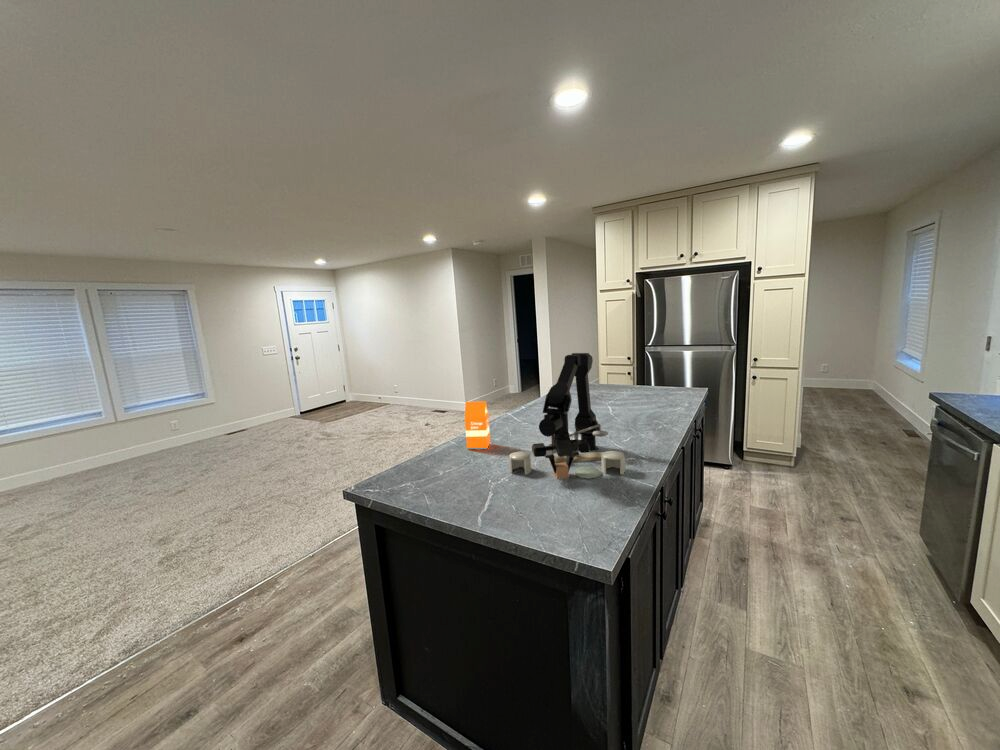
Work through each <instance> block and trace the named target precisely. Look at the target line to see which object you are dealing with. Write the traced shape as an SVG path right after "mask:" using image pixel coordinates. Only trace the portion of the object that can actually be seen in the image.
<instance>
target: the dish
mask: <svg viewBox="0 0 1000 750" xmlns="http://www.w3.org/2000/svg"><path fill="white" fill-rule="evenodd" d="M601 472H602V471H601V470H600V469H599V468H598V467H594V466H581V467H577V468H576V469H575V470H574V475H575V476H576V477H577V476H578V477H577V478H581V479H584V478H586V480H591V478H593V479H597V478H599V477H600V476H601V475H600V474H602V473H601ZM598 476H599V477H598ZM596 477H597V478H596Z"/></svg>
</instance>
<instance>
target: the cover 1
mask: <svg viewBox="0 0 1000 750" xmlns="http://www.w3.org/2000/svg"><path fill="white" fill-rule="evenodd" d="M508 458H509V471H510V474H511V473H512V474H513V469H514V470H515V469H520V468H519V467H524V468H523V469H524V475H525V474H527V475H528V474H531V472H532V464H531V462H532V461H531V454H530V453H529V452H526V451H515V452H511V453H510V454H509V456H508Z"/></svg>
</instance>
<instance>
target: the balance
mask: <svg viewBox="0 0 1000 750" xmlns="http://www.w3.org/2000/svg"><path fill="white" fill-rule="evenodd" d="M597 427H600V431H594V432H593V435H594V436H595V437H600V438H601V437H607V436H608V435H609V432H608V431H606V430H601V429H602V428H601V424H600V423H598V425H595V426H592V427H589V428H586V429H584V430H581V431H576V430H574V432H572V433H569V437H570V438H571V437H574V439H573V440H575V439H577V440H579V435H581V434H580V433H582V432H585V431H588V430H591V429H594V428H597ZM548 446H552V443H549V444H548ZM578 453H579V455H576V456H575V457H574V459H573V461H572V463H579V462H581V463H582V462H588V461H589V462H590V461H591V460H592V461H599V460H600V459H601V455H602V453H604V452H603V451H599V452H586V453H580V451H579V450H578ZM556 454H557V451H553V455H554V456H555V455H556ZM547 459H548V460H547V461H548V463H549V464H550V465H551V462H550V460H549V458H547ZM554 460H555V463H564V462H565V463H566V456H563V457H559V456H558V455H556V456H555V457H554ZM592 461H591V462H592Z"/></svg>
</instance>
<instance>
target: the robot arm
mask: <svg viewBox="0 0 1000 750" xmlns="http://www.w3.org/2000/svg"><path fill="white" fill-rule="evenodd" d="M563 361H564V363H563V366H562V368H561V371H560V373H559V376H558V378H557V381H556V383H555V384H554V385H552V386H551V387H550V389H549V391H548V393H547V394H545V395H546V396H545V399H544V405H543V408H542V409H543V410H542V413H543V414H544V416H543V419H542V420H540V421H539V425H538V429H539V432H540V433H541V434H542V435H543V436H544V437H551V444H552V446H549V445H545V444H544V442H540V443H539V442H538V443H533V444H532V445H531V453H532V454H533V457H536V458H540V457H544V458H546V459H548V458H549V460H550V462H551V464H550V465H551V468H552V471H553V472H554V473H556V466H555V460H554V457H555V454H553V451H557V453H556V454H557V456H559V457H563V456H566V464H567V465H568V467H569V471H570V469H571V466H572V463H573V462H572V461H573V459H574V457H575V456H576V455H579V454H587V453H591V451H597V450H599V447H598V446H597V444H596V441H597V440H596V439H597V438H596V437H597V436H594V435H593V432H594V431H600V427H597V428H594V429H591V430H588V431H585V432H582V433H580V434H579V435H580V439H578V440H577V439H575V440H574V439H571V437H569V434H570V432H569V417H568V416H569V414H568V413H569V411H570V408H571V405H572V394H571V392H570V391H571V387H572V384H573V381H574V378H575V383H576V384H575V385H576V395H577V404H578V406H577V407H578V412H577V415H576V416H575V418H574V429H575V431H581V430H584V429H586V428H589V427H592V426H595V425H598V424H599V422H598V420H597V416H596V413H594V411H593V410H592V406H591V394H590V393H591V392H590V383H589V382H590V381H589V373H590V371H591V369H592V365H593V356H592V355H591V354H590V352H589V353H588V352H573V353H571V354H567V355H565V356H564V359H563ZM578 450H579V453H578ZM549 460H548V461H549ZM550 462H549V463H550ZM554 473H553V474H554Z"/></svg>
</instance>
